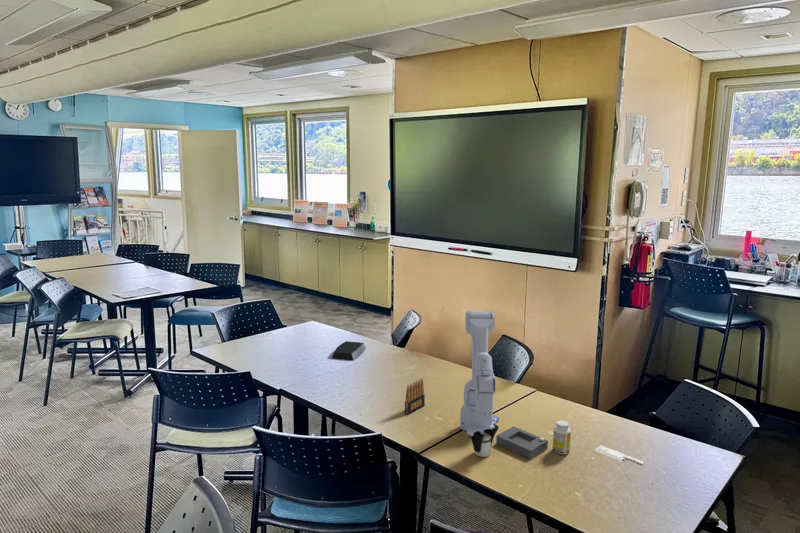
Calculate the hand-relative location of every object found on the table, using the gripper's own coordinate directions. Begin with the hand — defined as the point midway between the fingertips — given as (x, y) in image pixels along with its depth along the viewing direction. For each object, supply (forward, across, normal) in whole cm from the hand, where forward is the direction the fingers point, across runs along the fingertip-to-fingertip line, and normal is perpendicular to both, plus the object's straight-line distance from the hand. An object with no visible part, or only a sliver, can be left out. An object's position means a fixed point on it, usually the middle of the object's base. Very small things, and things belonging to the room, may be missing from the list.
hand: (482, 448), depth 183 cm
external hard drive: (+3, +29, +108) cm, 112 cm away
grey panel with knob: (+2, +14, -6) cm, 15 cm away
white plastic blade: (+3, +32, -32) cm, 45 cm away
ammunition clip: (+2, +7, +39) cm, 40 cm away
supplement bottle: (+2, +21, -17) cm, 27 cm away
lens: (+2, 0, 0) cm, 2 cm away
